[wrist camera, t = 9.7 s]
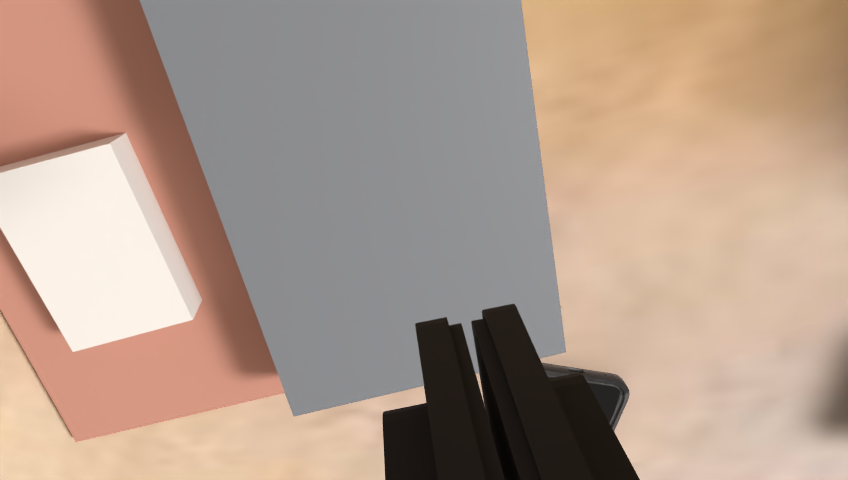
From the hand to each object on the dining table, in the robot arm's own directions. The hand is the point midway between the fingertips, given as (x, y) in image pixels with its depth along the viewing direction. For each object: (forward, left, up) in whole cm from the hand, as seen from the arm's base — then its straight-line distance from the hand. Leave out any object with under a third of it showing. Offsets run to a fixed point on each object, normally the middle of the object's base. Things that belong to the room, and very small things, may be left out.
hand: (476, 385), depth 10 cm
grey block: (+1, -1, -21) cm, 21 cm away
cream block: (+2, -15, -18) cm, 24 cm away
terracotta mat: (+1, -15, -21) cm, 26 cm away
